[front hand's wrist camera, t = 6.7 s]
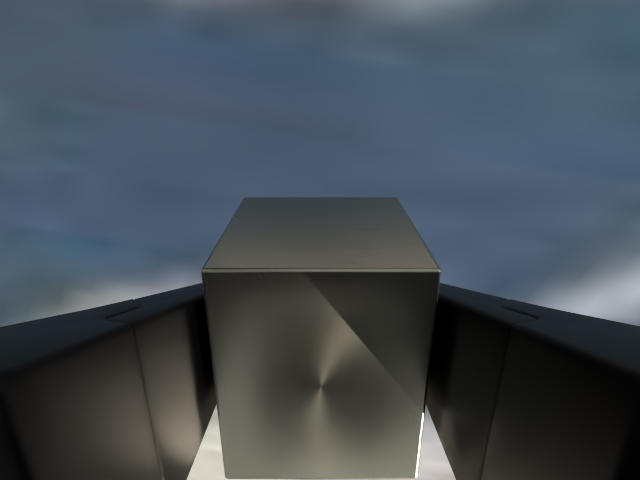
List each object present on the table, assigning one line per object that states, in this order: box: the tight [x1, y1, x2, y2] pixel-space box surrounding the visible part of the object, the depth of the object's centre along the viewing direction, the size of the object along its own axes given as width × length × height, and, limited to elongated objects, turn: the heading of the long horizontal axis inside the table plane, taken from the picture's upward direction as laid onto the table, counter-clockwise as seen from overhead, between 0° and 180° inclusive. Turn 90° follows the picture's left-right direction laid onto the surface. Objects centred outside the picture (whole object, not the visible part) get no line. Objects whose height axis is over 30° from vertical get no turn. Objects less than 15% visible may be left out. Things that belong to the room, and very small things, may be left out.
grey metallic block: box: [201, 197, 441, 479], centre depth 10 cm, size 5×4×4 cm
